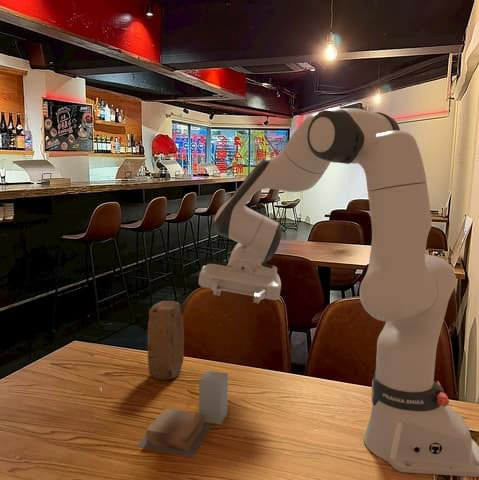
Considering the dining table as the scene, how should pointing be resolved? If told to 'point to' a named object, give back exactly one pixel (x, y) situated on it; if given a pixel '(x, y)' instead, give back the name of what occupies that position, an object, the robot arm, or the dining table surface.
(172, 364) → the block
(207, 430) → the build pad
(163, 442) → the base slab
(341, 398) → the dining table surface
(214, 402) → the pillar
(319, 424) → the dining table surface
